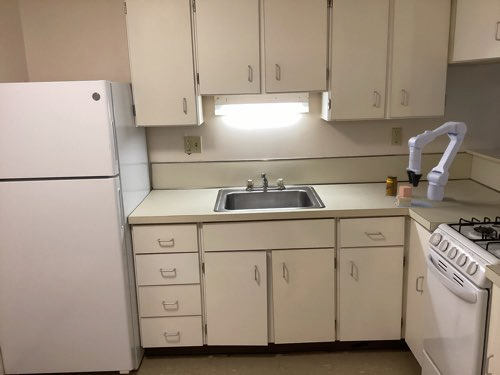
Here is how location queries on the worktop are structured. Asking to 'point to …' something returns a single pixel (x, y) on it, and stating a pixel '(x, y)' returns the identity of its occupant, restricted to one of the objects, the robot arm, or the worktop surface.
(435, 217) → the worktop surface
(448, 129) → the robot arm
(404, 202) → the block
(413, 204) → the board
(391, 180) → the condiment
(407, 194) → the terracotta block
